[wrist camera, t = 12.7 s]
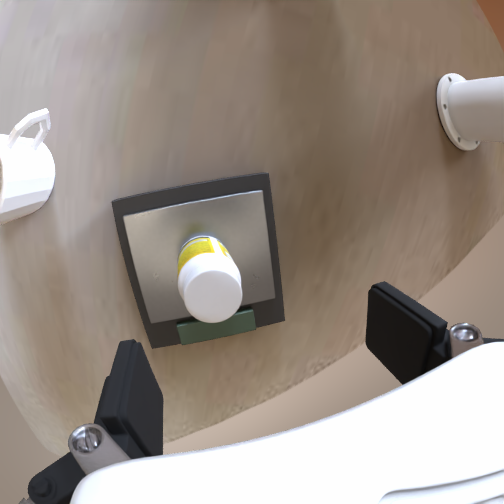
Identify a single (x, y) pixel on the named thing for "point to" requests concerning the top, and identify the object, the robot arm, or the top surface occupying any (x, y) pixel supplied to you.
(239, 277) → the supplement bottle
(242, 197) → the scale pan
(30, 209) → the mug
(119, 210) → the scale
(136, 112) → the top surface
